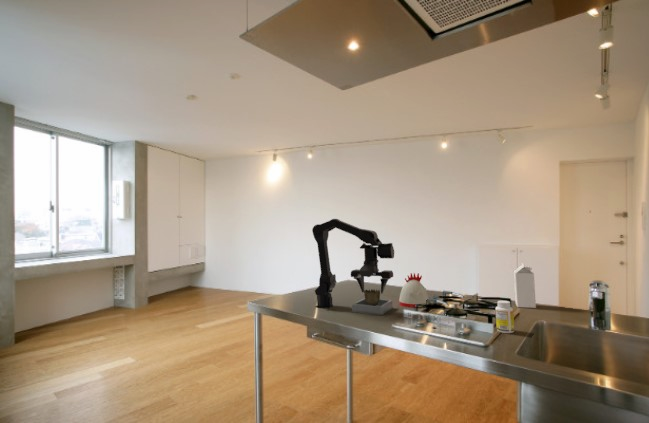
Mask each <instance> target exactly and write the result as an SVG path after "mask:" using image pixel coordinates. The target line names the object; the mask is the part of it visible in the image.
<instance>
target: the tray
mask: <svg viewBox="0 0 649 423" xmlns="http://www.w3.org/2000/svg"><path fill="white" fill-rule="evenodd" d="M393 306H394V305H393V300H392V299H382V298H380V300H379V303H378V304H377V305H376V306H372V305H368V304H367V303H366V301H365V297H364V298H362V299H359V300H358V301H355V302H354V303H352V304H351V312H352V313H357V314H365V315H366V314H368V315H377V316H378V315H379V316H384V314H386V313H388V312H389V311H390V310H392V309H393Z"/></svg>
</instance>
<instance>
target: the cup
mask: <svg viewBox="0 0 649 423" xmlns="http://www.w3.org/2000/svg"><path fill="white" fill-rule="evenodd" d="M363 293H364V294H363V295H364V298H365V301H366V303H367V304H368V305H372V306H376V305H377V304H378V303H379V300H380V299H381V290H380V289H372V288H371V289H370V288H369V289H364V292H363Z"/></svg>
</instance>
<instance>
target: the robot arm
mask: <svg viewBox="0 0 649 423" xmlns="http://www.w3.org/2000/svg"><path fill="white" fill-rule="evenodd" d="M334 229H338V230H340V231H343V232H345V233H347V234H350V235H352V236H354V237H356V238H358V239H359V240H360V241H362V242H363V243H362V244H361V245H360V247H359V249H361V250H363V249H364V250H363V251H364V260H363V265H362V266H361V267H360V268H359V269H353V270H351V271H350V277H351V278H353V279H355V280H356V281H357V282H358V286H359V287H360V290H361V292H362V293H364V290H365V277H367V278H370V277H380V278H379V279H380V295H381V294H384V291H385V288H386V285H387V282H388V281H389V280H391V278H394V271H393V270H388V269H387V270H381V271H380V270H379V265H378V263H379V259H378V257H379V258H380V259H394V258H395V249H394V245H393V243H392V242H388V243H383V242H382V241H381V240H380V239H379V237H378V234H377V232H376V231H374V230H371V229H364V228H359V227H357V226H355V225H353V224H350V223H348V222H346V221H345V222H344V221H343V220H340V219H338V218H332V219H330V220H327V221H325V222H323V223H321V224H320V223H319V224H315V225H314V226H313V227H312V236H313V238H314V240H315V242H316V244H317V250H318V251H317V252H318V259H319V260H318V261H319V267H320V275H319V280H318V282H319V283H318V287H317V288H316V289H315V290H314V293H315V295H316V305H315V308H319V309H322V308H323V309H329V308H331V307H334V304H333V297H332V292H333V289H335V287H336V284H337V279H336V273H334V274H333V273H332V271H331V265H330V264H331V262H330V256H329V248H328V239H329V232H331V231H333V230H334Z"/></svg>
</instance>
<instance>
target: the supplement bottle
mask: <svg viewBox="0 0 649 423" xmlns="http://www.w3.org/2000/svg"><path fill="white" fill-rule="evenodd" d="M496 305H497V306H495V324H496V330H497V331H498V332H499V333H502V334H503V333H504V334H513V333H514V332H515V318H514V309H513V307H512V306H511V301H509V300H497V304H496Z"/></svg>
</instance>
